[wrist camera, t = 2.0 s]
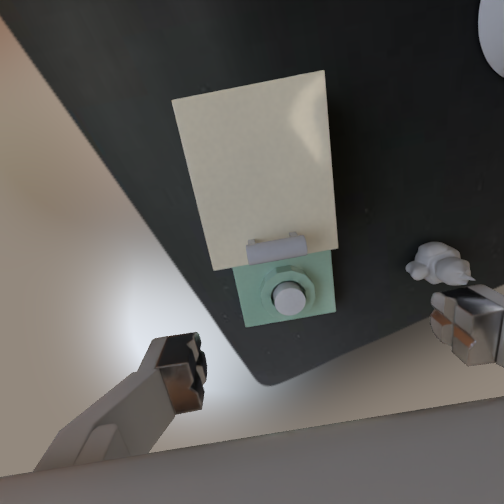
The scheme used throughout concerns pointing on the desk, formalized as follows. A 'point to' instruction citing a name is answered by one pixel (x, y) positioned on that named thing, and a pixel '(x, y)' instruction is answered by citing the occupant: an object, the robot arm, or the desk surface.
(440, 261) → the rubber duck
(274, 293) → the flush button
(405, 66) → the desk surface
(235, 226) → the beige cover lid
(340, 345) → the desk surface
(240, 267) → the green button base
